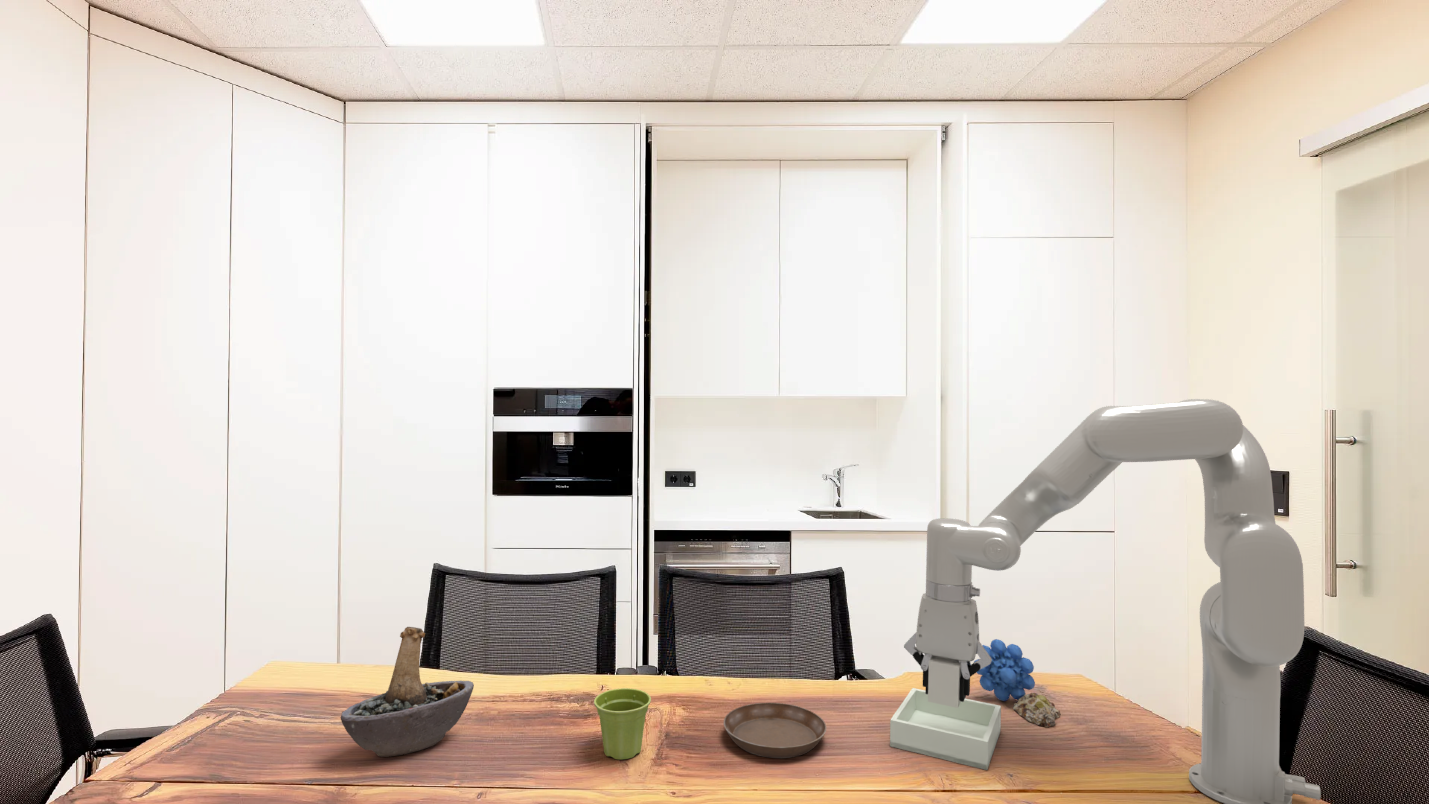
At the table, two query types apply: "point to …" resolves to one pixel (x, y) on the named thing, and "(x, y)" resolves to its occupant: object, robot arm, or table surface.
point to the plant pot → (622, 721)
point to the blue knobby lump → (1006, 671)
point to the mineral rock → (1037, 709)
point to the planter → (407, 707)
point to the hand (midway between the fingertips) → (945, 694)
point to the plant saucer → (774, 729)
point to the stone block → (944, 681)
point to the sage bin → (947, 729)
